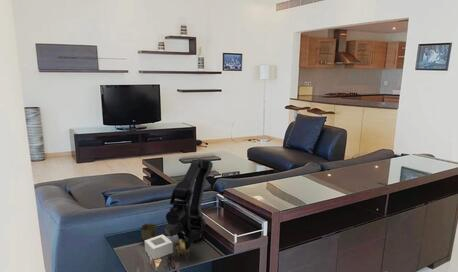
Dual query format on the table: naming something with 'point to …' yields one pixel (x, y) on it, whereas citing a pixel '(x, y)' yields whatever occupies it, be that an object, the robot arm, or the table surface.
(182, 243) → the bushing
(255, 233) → the table surface
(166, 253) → the jig
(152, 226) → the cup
